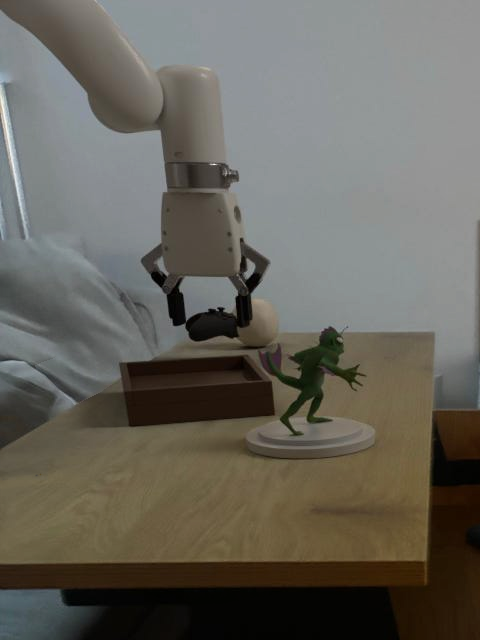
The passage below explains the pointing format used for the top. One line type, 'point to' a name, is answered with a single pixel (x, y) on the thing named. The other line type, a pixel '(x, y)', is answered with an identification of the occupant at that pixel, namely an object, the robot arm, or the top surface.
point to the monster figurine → (311, 407)
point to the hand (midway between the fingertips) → (211, 325)
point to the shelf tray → (195, 389)
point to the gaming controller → (212, 325)
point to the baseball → (259, 324)
